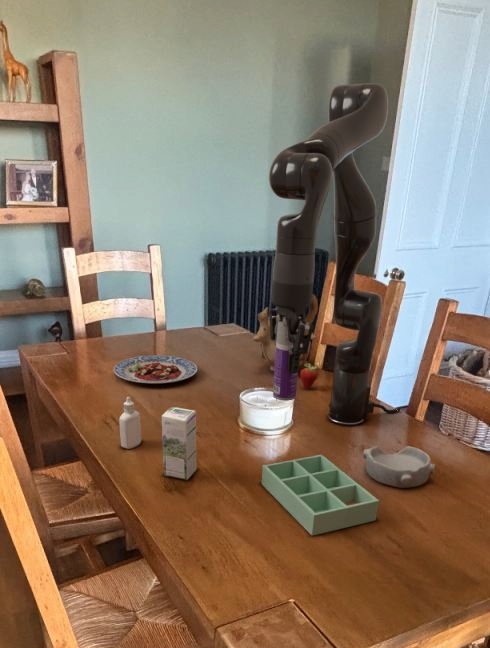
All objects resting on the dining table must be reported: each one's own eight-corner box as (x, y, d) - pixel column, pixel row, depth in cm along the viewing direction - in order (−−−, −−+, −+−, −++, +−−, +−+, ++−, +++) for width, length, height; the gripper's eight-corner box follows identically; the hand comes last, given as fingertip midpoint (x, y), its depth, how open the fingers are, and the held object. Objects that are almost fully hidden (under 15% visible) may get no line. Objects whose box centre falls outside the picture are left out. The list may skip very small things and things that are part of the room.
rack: (319, 472, 138) (321, 454, 136) (375, 520, 122) (379, 500, 119) (261, 484, 133) (262, 465, 130) (311, 535, 116) (314, 515, 114)
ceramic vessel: (261, 359, 207) (265, 282, 194) (317, 364, 204) (325, 286, 191) (250, 376, 192) (253, 294, 179) (310, 383, 189) (318, 299, 176)
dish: (353, 467, 141) (356, 447, 139) (403, 457, 146) (406, 438, 143) (390, 496, 130) (394, 475, 127) (442, 485, 135) (447, 465, 132)
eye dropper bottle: (146, 445, 147) (143, 398, 141) (124, 450, 145) (120, 402, 138) (138, 438, 150) (136, 392, 144) (117, 443, 148) (113, 396, 142)
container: (294, 401, 122) (300, 325, 114) (271, 399, 123) (275, 323, 115) (297, 393, 126) (303, 319, 118) (274, 391, 126) (279, 317, 119)
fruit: (319, 389, 184) (322, 364, 180) (306, 393, 181) (308, 366, 177) (308, 384, 187) (311, 359, 183) (295, 387, 185) (297, 362, 181)
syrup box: (197, 469, 138) (197, 409, 130) (186, 481, 133) (185, 419, 125) (174, 465, 139) (172, 405, 132) (163, 476, 134) (160, 415, 127)
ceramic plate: (213, 372, 194) (213, 363, 193) (162, 396, 176) (162, 386, 174) (150, 356, 206) (150, 348, 204) (96, 377, 187) (95, 367, 185)
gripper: (330, 285, 108) (321, 378, 117) (293, 270, 119) (286, 356, 128) (293, 287, 105) (286, 382, 114) (258, 272, 116) (254, 359, 125)
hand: (286, 368), depth 121 cm, fingers closed on container, 4 cm apart
